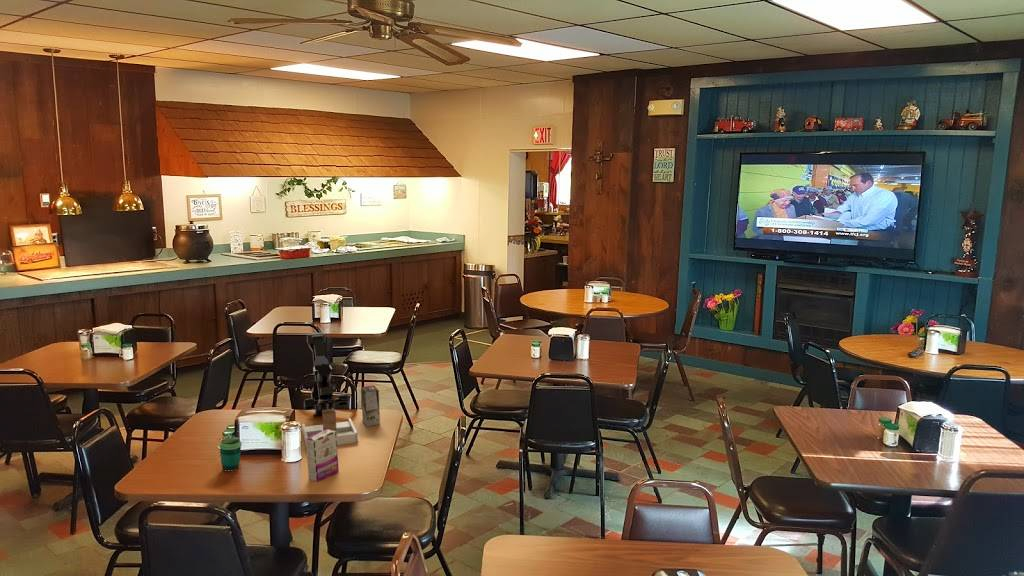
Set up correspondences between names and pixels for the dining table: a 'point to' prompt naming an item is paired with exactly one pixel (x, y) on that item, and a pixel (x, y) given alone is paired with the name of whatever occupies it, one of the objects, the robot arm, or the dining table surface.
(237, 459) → the cup
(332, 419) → the block
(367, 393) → the coffee box
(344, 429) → the trap box
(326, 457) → the candy bar box
